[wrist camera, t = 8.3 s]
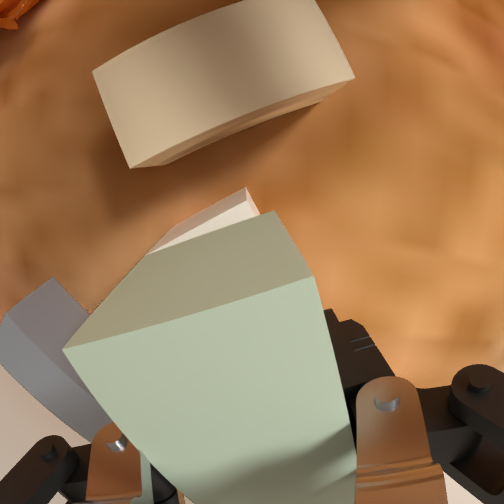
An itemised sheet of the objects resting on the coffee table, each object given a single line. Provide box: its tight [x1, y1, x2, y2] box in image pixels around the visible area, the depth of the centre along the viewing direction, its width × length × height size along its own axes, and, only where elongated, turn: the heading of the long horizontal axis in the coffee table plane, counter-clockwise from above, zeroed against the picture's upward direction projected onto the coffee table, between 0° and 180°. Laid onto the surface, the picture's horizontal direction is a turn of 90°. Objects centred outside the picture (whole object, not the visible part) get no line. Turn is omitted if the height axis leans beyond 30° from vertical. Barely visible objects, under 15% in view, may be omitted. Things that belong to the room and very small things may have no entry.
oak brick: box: [92, 0, 355, 168], centre depth 11 cm, size 8×4×5 cm, turn 113°
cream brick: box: [146, 187, 260, 255], centre depth 13 cm, size 8×4×5 cm, turn 27°
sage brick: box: [62, 211, 357, 504], centre depth 7 cm, size 8×4×5 cm, turn 19°
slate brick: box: [0, 277, 113, 443], centre depth 14 cm, size 8×4×5 cm, turn 43°
